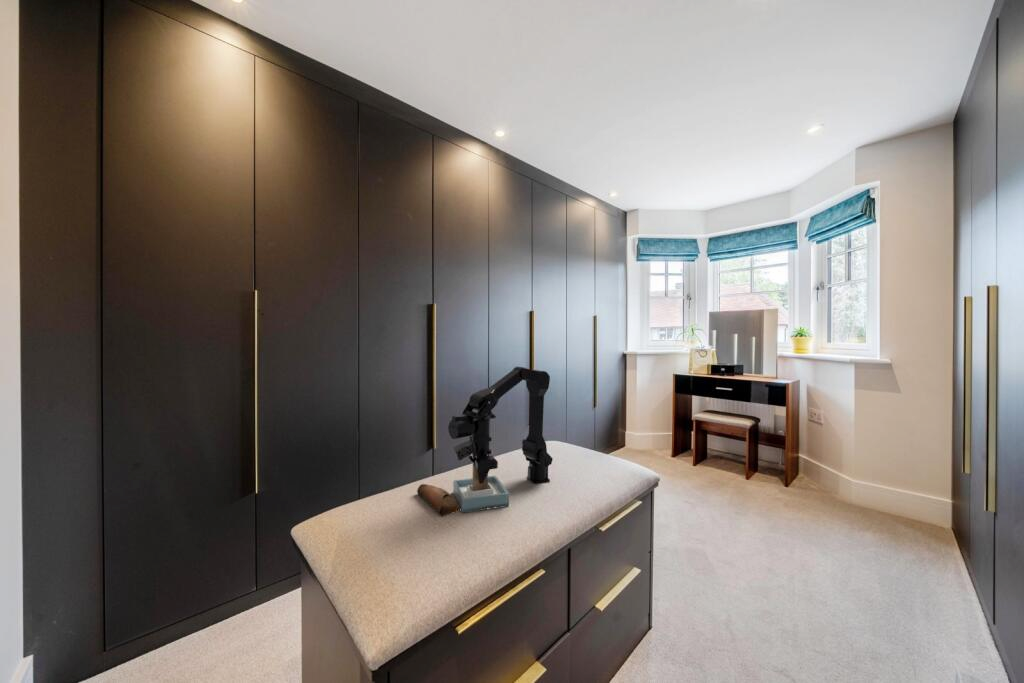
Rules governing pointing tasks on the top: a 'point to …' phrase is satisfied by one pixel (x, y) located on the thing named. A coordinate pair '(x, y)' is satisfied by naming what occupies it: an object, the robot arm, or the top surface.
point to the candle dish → (480, 495)
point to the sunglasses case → (438, 499)
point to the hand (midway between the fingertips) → (480, 481)
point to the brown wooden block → (476, 481)
